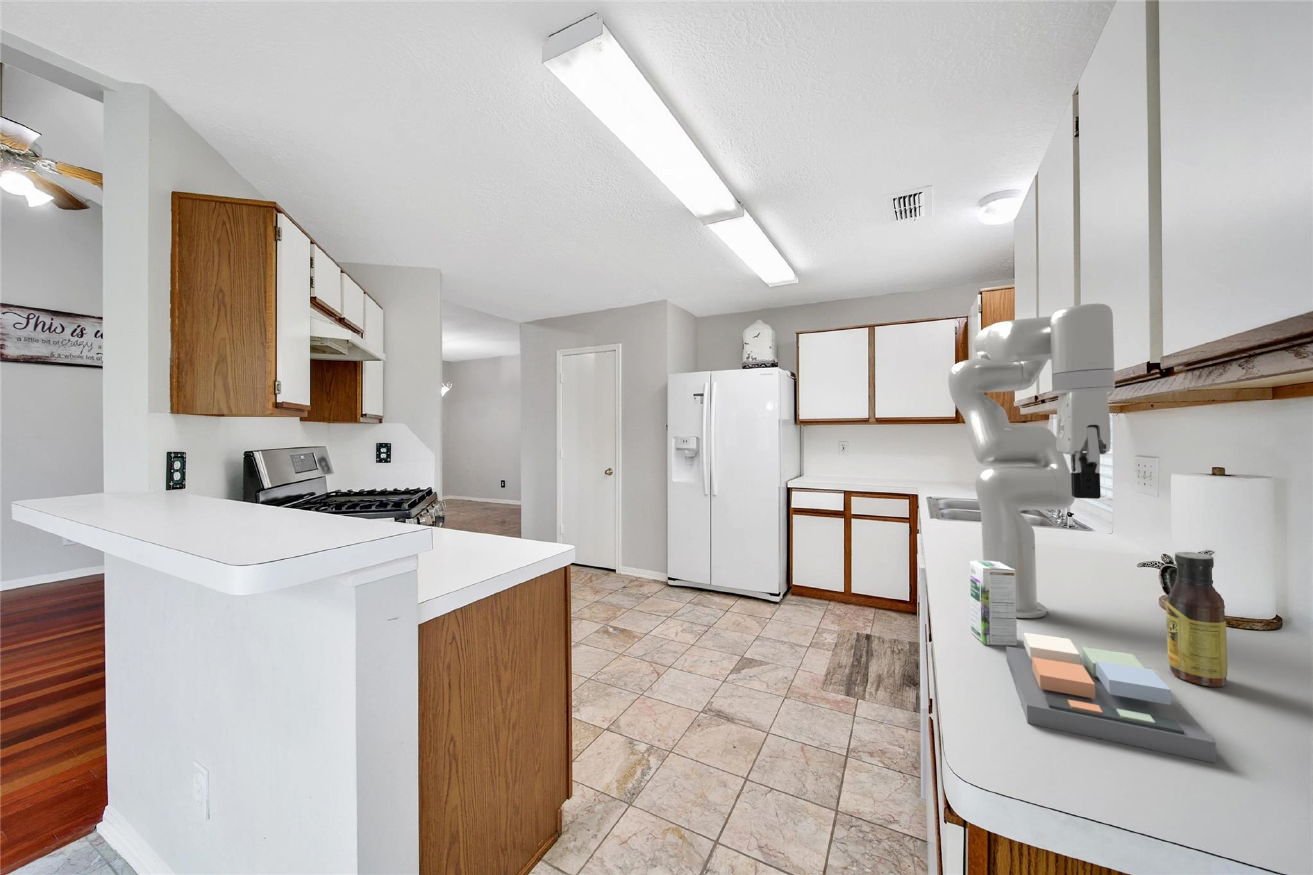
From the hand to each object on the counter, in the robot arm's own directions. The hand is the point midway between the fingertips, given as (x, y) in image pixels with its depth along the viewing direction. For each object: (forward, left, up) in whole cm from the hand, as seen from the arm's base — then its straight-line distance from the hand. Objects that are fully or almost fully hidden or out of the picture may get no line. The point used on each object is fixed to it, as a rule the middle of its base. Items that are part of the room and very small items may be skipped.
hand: (1085, 497), depth 77 cm
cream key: (+4, -6, -25) cm, 26 cm away
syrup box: (-10, -12, -29) cm, 33 cm away
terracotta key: (+11, -6, -26) cm, 29 cm away
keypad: (+9, -2, -29) cm, 31 cm away
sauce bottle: (-6, +14, -29) cm, 33 cm away
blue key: (+11, +2, -25) cm, 28 cm away
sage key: (+4, +2, -26) cm, 26 cm away
